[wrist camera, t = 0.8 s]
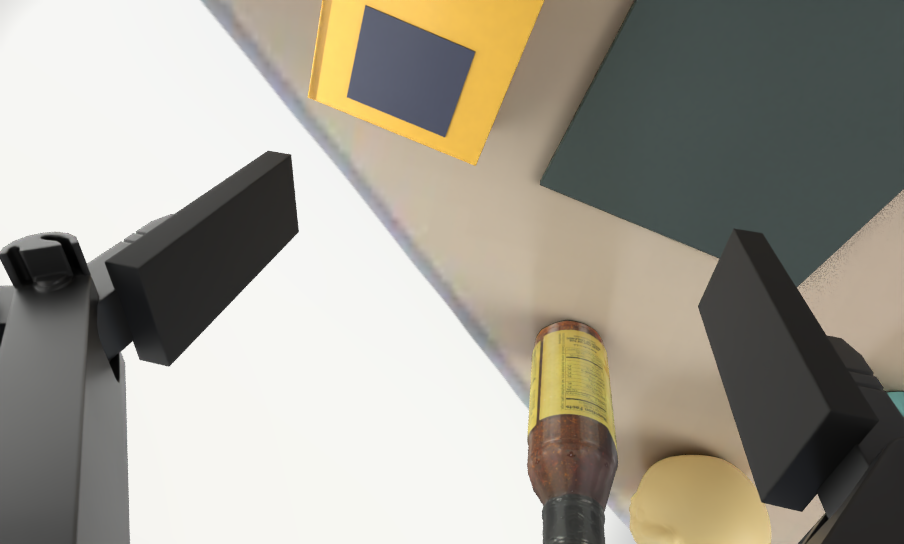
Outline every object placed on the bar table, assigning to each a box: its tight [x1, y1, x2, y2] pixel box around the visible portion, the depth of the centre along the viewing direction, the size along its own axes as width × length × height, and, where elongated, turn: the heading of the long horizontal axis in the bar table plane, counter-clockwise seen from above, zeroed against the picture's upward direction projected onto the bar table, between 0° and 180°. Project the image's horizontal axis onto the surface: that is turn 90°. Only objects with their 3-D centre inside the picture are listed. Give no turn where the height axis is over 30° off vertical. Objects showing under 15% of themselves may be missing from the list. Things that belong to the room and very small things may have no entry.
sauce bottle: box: [527, 320, 618, 544], centre depth 37 cm, size 7×6×20 cm
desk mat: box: [540, 0, 904, 287], centre depth 30 cm, size 18×20×1 cm
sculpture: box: [629, 455, 771, 544], centre depth 48 cm, size 12×12×11 cm
